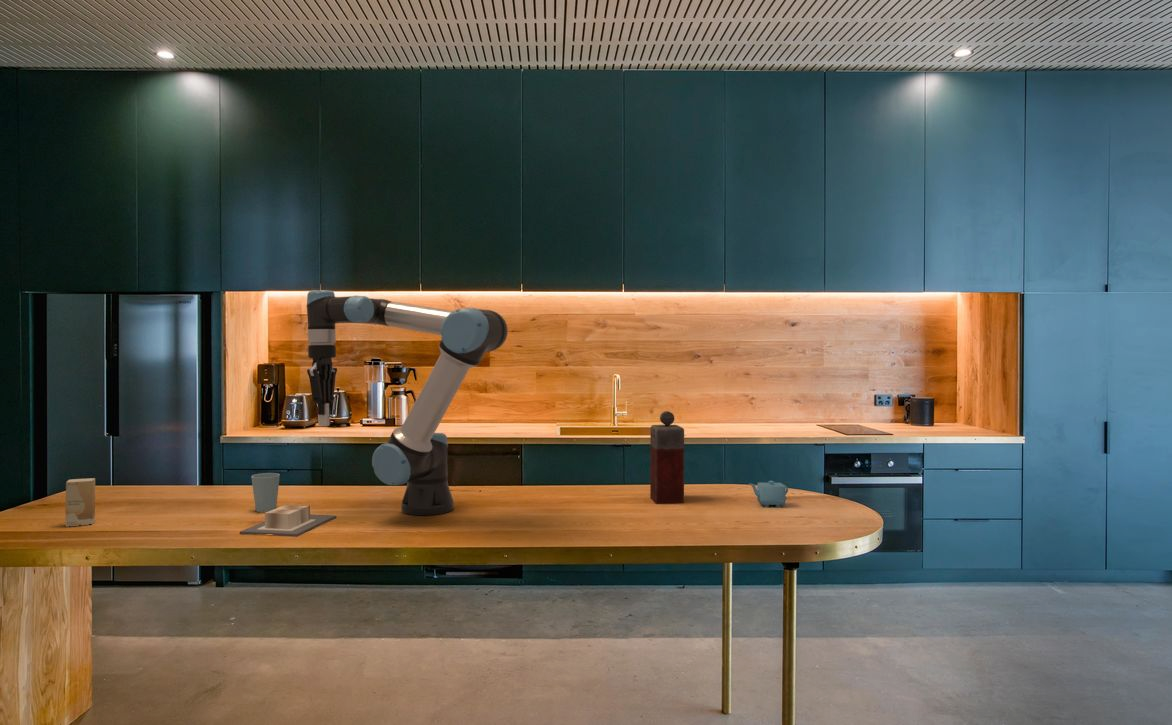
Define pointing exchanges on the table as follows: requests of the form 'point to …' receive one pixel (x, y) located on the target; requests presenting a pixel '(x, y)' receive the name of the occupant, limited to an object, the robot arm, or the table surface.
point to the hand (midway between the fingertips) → (323, 425)
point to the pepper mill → (667, 461)
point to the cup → (265, 491)
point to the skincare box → (80, 502)
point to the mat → (295, 531)
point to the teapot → (770, 493)
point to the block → (287, 516)
